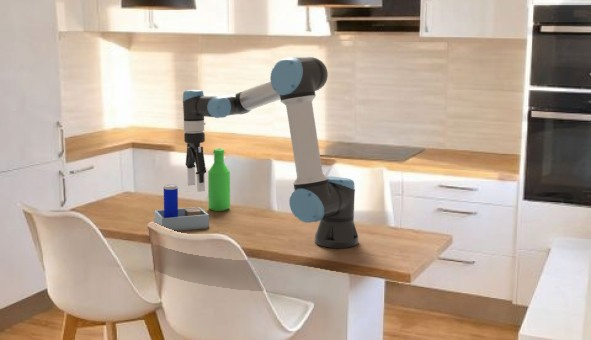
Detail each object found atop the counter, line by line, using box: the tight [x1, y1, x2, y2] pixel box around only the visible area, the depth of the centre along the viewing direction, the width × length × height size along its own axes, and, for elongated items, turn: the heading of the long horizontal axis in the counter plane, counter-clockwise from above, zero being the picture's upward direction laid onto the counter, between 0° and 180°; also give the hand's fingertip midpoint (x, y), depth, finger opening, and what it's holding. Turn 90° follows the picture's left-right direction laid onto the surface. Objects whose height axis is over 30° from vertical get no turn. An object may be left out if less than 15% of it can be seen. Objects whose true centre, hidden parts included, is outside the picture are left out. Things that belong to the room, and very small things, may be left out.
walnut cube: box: [185, 208, 201, 216], centre depth 282 cm, size 5×5×5 cm
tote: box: [153, 206, 210, 232], centre depth 281 cm, size 14×18×5 cm
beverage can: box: [163, 183, 179, 218], centre depth 278 cm, size 5×5×15 cm
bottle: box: [207, 148, 231, 212], centre depth 306 cm, size 9×9×25 cm
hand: (196, 188), depth 280 cm, fingers open, 13 cm apart
